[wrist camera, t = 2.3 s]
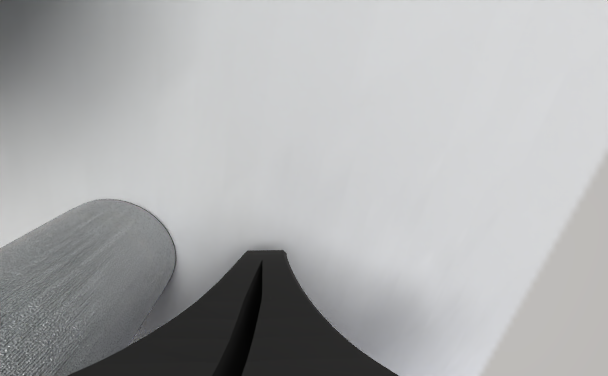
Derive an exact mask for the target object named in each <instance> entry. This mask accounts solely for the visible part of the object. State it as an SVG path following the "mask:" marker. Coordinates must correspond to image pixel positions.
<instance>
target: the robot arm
mask: <svg viewBox="0 0 608 376" xmlns="http://www.w3.org/2000/svg"><path fill="white" fill-rule="evenodd" d="M67 376H398V375H397V374H395V373H393V372H392V371H390V370H389V369H387V368H386V367H384V366H382V365H381V364H379V363H378V362H376V361H374V360H373V359H371V358H370V357H368V356H367V355H366V354H364V353H363V352H362V351H360V350H359V349H358V348H356V347H355V346H354V345H352V344H351V343H350V342H349V341H348V340H347V339H346V338H344V337H343V336H342V335H341V334H340V333H339V332H338V331H337V330H336V329H334V328H333V327H332V325H331V324H330V323H329V322H328V321H327V320H326V319H325V318H324V317H323V316H322V315H321V313H320V312H319V311H318V310H317V309H316V307H315V306H314V305H313V304H312V302H311V301H310V300H309V298H308V297H307V295H306V294H305V292H304V291H303V289H302V288H301V286H300V284H299V283H298V281H297V279H296V277H295V275H294V274H293V272H292V269H291V267H290V265H289V262H288V259H287V253H286V252H284V251H283V250H269V251H247V252H246V253H245V254H244V255H243V256H242V257H241V258H240V259H239V260H238V261H237V263H236V264H235V265H234V266H233V267H232V268H231V269H230V270H229V271H228V272H227V273H226V274H225V275H224V276H223V278H222V279H221V280H220V281H219V282H218V283H217V284H216V285H215V286H213V287H212V288H211V289H210V290H209V291H208V292H207V293H206V294H205V295H204V296H202V297H201V298H200V299H199V300H198V301H197V302H195V303H194V304H193V305H192V306H190V307H189V308H188V309H186V310H185V311H184V312H182V313H181V314H180V315H178V316H177V317H175V318H174V319H172V320H171V321H169V322H168V323H166V324H165V325H163V326H161V327H160V328H158V329H157V330H155V331H153V332H152V333H150V334H149V335H147V336H146V337H144V338H142V339H140V340H139V341H137V342H135V343H133V344H131V345H130V346H128V347H126V348H124V349H122V350H120V351H118V352H116V353H114V354H112V355H111V356H109V357H107V358H105V359H103V360H100V361H98V362H96V363H94V364H92V365H90V366H88V367H85V368H83V369H81V370H79V371H76V372H74V373H72V374H70V375H67Z"/></svg>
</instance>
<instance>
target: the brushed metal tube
mask: <svg viewBox="0 0 608 376" xmlns="http://www.w3.org/2000/svg"><path fill="white" fill-rule="evenodd" d="M174 267H175V249H174V245H173V242H172V240H171V237H170V235H169V234H168V232H167V230H166V229H165V228H164V226H163V225H162V224H161V223H160V222H159V221H158V220H157V219H156V218H155V217H154V216H153V215H152V214H150V213H149V212H147V211H146V210H144V209H142V208H140V207H138V206H136V205H134V204H131V203H128V202H124V201H120V200H112V199H102V200H95V201H91V202H87V203H85V204H82V205H80V206H78V207H76V208H73V209H71V210H69V211H67V212H66V213H64V214H62V215H60V216H58V217H56V218H55V219H53V220H51V221H49V222H47V223H45V224H44V225H42V226H40V227H38V228H36V229H34V230H33V231H31V232H29V233H27V234H25V235H23V236H22V237H20V238H18V239H16V240H14V241H12V242H11V243H9V244H7V245H5V246H3V247H2V248H0V376H67V375H70V374H72V373H74V372H76V371H79V370H81V369H83V368H85V367H88V366H90V365H92V364H94V363H96V362H98V361H100V360H103V359H105V358H107V357H109V356H111V355H112V354H114V353H116V352H118V351H120V350H122V349H124V348H126V347H128V345H129V344H130V342H131V340H132V339H133V337H134V336H135V334H136V333H137V331H138V329H139V328H140V326H141V325H142V323H143V322H144V320H145V318H146V317H147V315H148V314H149V312H150V311H151V309H152V307H153V306H154V304H155V303H156V301H157V300H158V298H159V296H160V295H161V293H162V292H163V290H164V289H165V287H166V285H167V283H168V281H169V280H170V278H171V276H172V273H173V271H174Z"/></svg>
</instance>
